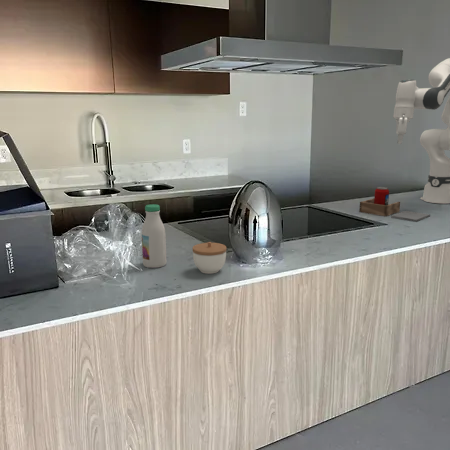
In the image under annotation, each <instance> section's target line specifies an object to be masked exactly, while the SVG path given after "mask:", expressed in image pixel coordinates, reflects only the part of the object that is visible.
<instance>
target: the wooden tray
mask: <svg viewBox="0 0 450 450" xmlns="http://www.w3.org/2000/svg"><path fill="white" fill-rule="evenodd" d="M400 207H401V201H396V202H392V203H390V204H389V203H388V205H380V204H374V197H373V198H370V199H366V200H363V201H359V209H358V211H359V213H364V214H370V215H376V216H381V217H389V216H392V215H394V214H397V213H400V211H401V210H400V209H401V208H400Z"/></svg>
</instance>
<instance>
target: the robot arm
mask: <svg viewBox="0 0 450 450" xmlns="http://www.w3.org/2000/svg"><path fill="white" fill-rule="evenodd" d="M428 83H429V84H430V86H432V87H423V88H420V87H418V86H417V80H415V79H403V80H400V81H399V82H398V84H397V88H396V94H395V105H394V108H393V119H395V122H396V130H395V131H396V135H397V145H401V144H403V141H404V140H403V139H404V135H405V134H406V133H407V126H408V123H410V120H412V119H414V113H415V112H414V111H415V110H432V111H433V110H438V109H439V108H440V107H441V106H442V105H443V102H444V99H445V97H447V95H448V93H449V92H450V57H448V58H446V59H444V60H442V61H441V62H439V63H438V64H437V65H435V66H434V67H433V68H432V69H431V70H430V72H429V73H428ZM441 120H442V123H444V124H446V125H447V128H430V129H426V130H424V131H423V132H422V133H421V135H420V138H419V142H420V145H421V147H422V148H424V150H425V151H426V153H427V155H428V157H429V175H428V177H427V183H426V184H425V185H424V189H423V194H422V195H423V196H421V197H420V198H419V199H420V200H421V201H423V202H427V203H431V204H432V203H433V204H450V158H449V157H448V156H447V155H446V153H445V151H450V95H448V98H447V100H446V102H445V105H444V108H443V111H442V114H441Z"/></svg>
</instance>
